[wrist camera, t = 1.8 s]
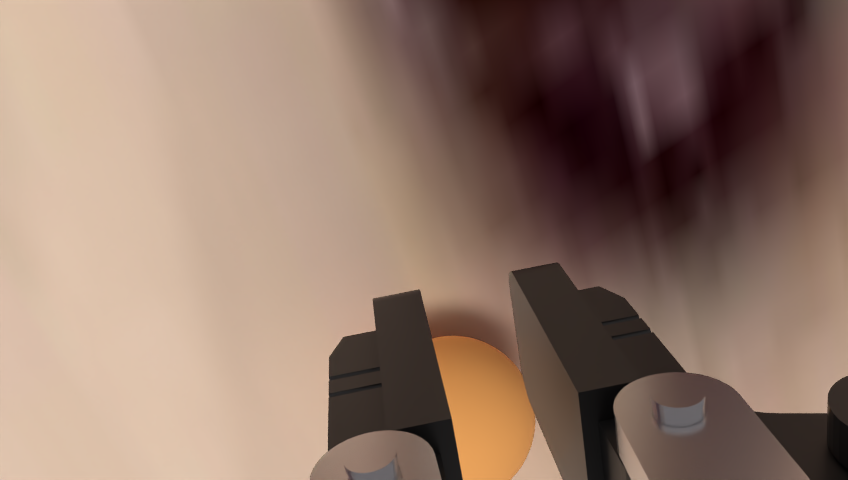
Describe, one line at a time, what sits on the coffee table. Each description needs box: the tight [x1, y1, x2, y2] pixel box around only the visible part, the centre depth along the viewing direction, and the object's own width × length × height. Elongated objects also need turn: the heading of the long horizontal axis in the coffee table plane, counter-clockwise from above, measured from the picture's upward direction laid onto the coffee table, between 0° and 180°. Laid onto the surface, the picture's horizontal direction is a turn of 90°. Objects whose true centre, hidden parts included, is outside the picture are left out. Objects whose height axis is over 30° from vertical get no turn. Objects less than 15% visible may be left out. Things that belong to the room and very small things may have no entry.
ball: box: [432, 336, 535, 480], centre depth 27 cm, size 6×6×6 cm
